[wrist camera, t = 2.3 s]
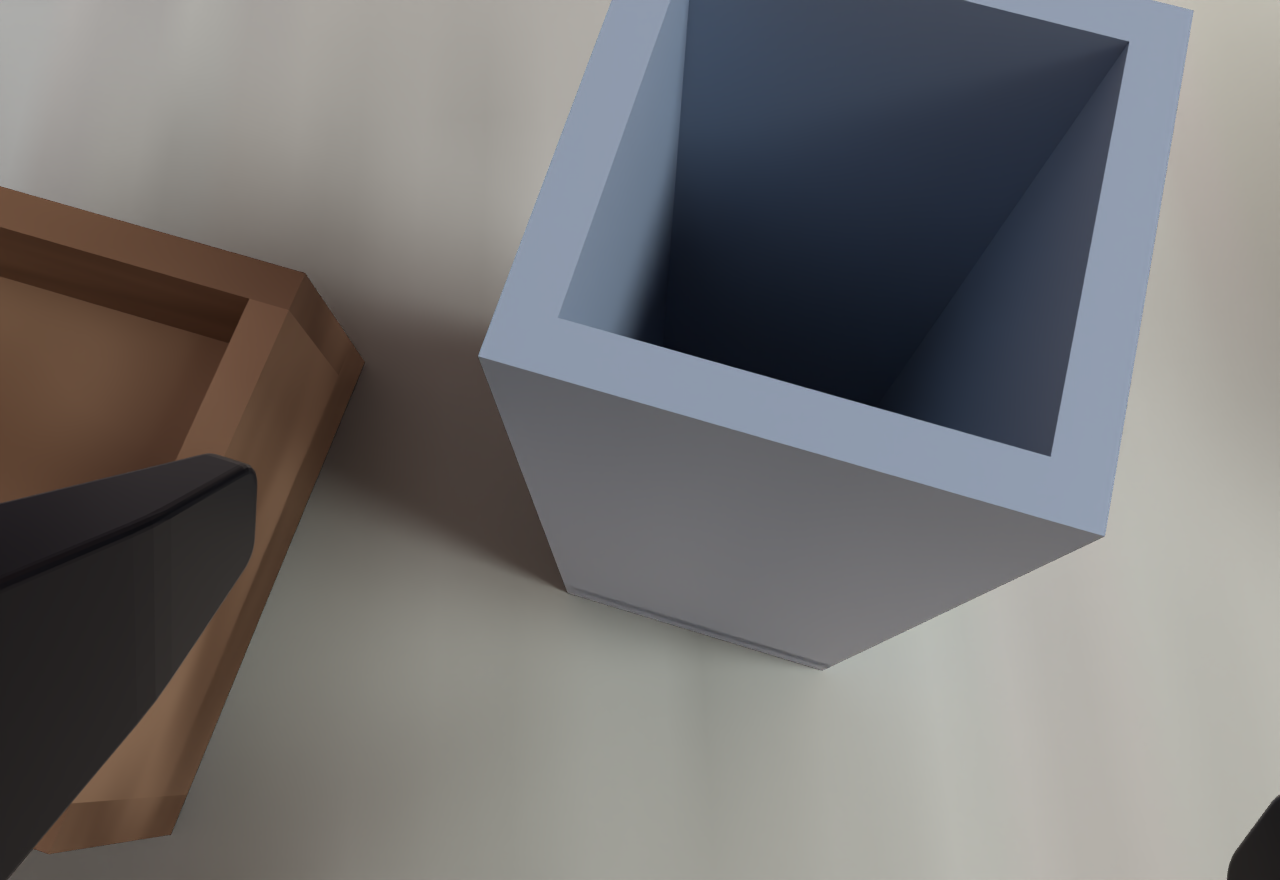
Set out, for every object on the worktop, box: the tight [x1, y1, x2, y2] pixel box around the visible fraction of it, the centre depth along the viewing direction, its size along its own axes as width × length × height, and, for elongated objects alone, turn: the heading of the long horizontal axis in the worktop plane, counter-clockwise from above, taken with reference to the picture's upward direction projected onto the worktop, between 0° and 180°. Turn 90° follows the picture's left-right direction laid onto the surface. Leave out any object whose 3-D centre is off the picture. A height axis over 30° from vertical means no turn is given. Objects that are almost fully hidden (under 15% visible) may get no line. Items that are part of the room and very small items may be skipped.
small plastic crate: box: [478, 0, 1194, 670], centre depth 14 cm, size 5×5×12 cm
